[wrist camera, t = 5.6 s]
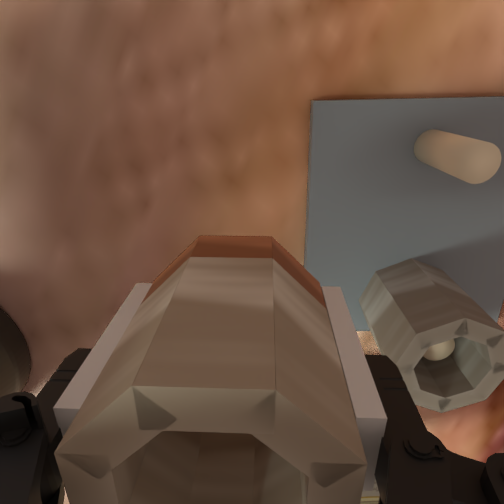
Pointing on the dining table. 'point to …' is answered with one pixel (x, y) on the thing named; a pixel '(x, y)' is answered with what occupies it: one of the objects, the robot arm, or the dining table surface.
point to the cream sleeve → (220, 391)
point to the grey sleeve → (434, 335)
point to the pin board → (407, 195)
